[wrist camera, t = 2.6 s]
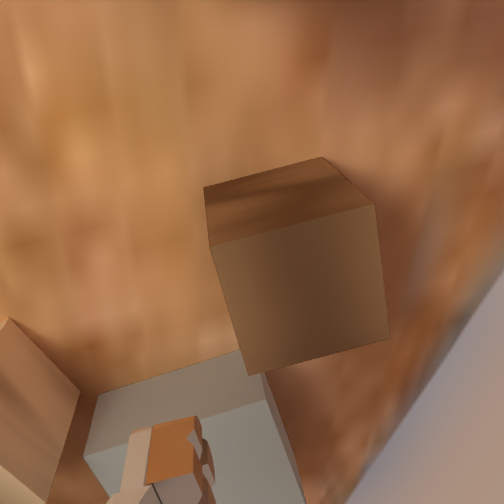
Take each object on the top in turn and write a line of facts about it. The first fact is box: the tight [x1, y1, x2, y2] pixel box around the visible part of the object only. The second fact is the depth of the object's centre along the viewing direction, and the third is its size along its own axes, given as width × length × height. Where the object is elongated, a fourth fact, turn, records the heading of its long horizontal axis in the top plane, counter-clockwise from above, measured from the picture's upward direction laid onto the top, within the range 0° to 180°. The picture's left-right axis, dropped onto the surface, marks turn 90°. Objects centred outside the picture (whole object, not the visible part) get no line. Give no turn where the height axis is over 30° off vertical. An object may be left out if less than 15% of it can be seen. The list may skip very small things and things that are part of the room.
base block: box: [83, 350, 307, 504], centre depth 23 cm, size 8×8×4 cm
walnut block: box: [203, 157, 390, 376], centre depth 17 cm, size 5×5×6 cm
